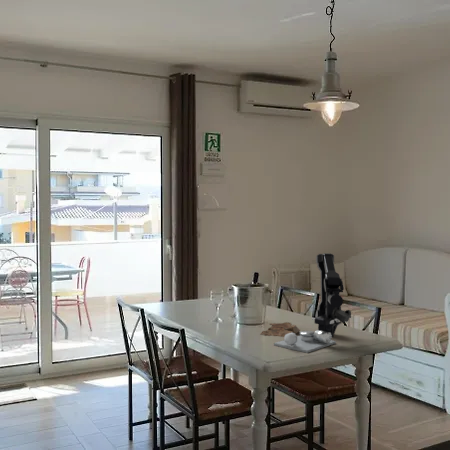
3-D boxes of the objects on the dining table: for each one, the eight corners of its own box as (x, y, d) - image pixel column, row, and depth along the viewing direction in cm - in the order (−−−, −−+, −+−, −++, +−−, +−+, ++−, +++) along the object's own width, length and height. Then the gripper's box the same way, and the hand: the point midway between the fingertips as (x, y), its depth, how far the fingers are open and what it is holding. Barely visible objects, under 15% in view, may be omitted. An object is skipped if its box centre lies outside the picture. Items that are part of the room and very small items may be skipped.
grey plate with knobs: (303, 336, 267) (303, 323, 267) (335, 343, 255) (335, 329, 255) (273, 345, 250) (274, 330, 250) (307, 352, 238) (307, 337, 238)
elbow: (296, 339, 256) (296, 328, 256) (306, 336, 262) (306, 325, 262) (323, 344, 246) (323, 333, 246) (333, 341, 252) (333, 330, 252)
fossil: (283, 339, 263) (283, 329, 263) (255, 334, 272) (255, 325, 272) (303, 331, 279) (303, 322, 279) (275, 327, 288) (275, 318, 288)
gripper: (334, 308, 241) (333, 344, 241) (359, 303, 253) (358, 337, 254) (314, 304, 249) (313, 339, 250) (338, 300, 262) (338, 333, 262)
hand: (331, 337), depth 254 cm, fingers closed
